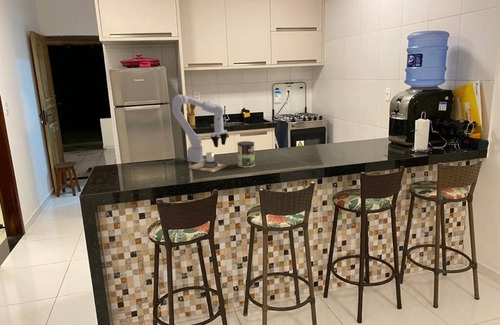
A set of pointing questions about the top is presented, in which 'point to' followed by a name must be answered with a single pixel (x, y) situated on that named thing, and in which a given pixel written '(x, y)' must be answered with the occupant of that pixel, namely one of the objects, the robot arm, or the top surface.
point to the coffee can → (245, 154)
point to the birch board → (200, 167)
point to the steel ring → (210, 164)
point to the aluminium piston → (210, 158)
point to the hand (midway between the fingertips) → (219, 145)
